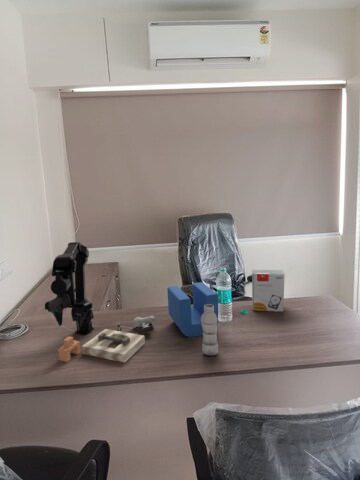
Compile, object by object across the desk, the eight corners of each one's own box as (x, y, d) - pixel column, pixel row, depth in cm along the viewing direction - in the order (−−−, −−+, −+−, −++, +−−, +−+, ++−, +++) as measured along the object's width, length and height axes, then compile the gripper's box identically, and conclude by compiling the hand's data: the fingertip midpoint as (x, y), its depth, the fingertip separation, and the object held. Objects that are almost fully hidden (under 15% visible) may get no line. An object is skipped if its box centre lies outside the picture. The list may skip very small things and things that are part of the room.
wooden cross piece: (59, 360, 133) (57, 342, 132) (73, 350, 140) (71, 333, 139) (67, 362, 132) (65, 344, 130) (80, 351, 139) (78, 334, 137)
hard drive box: (252, 311, 171) (252, 273, 167) (251, 305, 179) (251, 269, 175) (284, 311, 169) (284, 273, 165) (282, 306, 176) (282, 269, 172)
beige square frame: (83, 353, 137) (81, 341, 136) (106, 336, 151) (105, 325, 150) (124, 362, 129) (123, 350, 128) (145, 343, 144) (144, 331, 142)
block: (203, 316, 168) (202, 281, 164) (218, 331, 151) (217, 293, 148) (169, 322, 163) (167, 287, 159) (181, 339, 146) (179, 300, 142)
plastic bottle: (214, 359, 129) (213, 310, 125) (198, 355, 132) (197, 307, 128) (221, 351, 134) (220, 304, 130) (206, 347, 137) (205, 301, 134)
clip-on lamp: (116, 343, 151) (155, 334, 149) (112, 331, 149) (150, 322, 148) (121, 328, 162) (157, 320, 161) (117, 317, 161) (153, 309, 159)
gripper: (32, 292, 127) (36, 332, 129) (73, 294, 121) (77, 336, 123) (52, 285, 137) (56, 321, 139) (91, 286, 131) (94, 325, 133)
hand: (70, 326), depth 133 cm, fingers open, 9 cm apart
